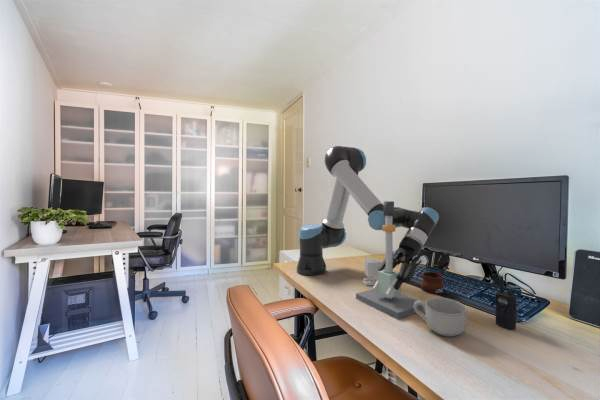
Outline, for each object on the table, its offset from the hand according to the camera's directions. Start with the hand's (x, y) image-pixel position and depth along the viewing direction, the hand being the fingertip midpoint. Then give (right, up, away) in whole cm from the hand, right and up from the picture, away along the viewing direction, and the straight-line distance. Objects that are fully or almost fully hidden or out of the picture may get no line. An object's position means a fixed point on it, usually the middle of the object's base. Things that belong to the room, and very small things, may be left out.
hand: (381, 292), depth 100 cm
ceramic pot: (+25, -4, +15) cm, 29 cm away
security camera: (+3, -4, +25) cm, 25 cm away
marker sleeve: (+3, -1, +2) cm, 4 cm away
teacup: (+12, -5, -17) cm, 22 cm away
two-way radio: (+33, -5, -16) cm, 37 cm away
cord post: (+3, -5, +2) cm, 6 cm away
